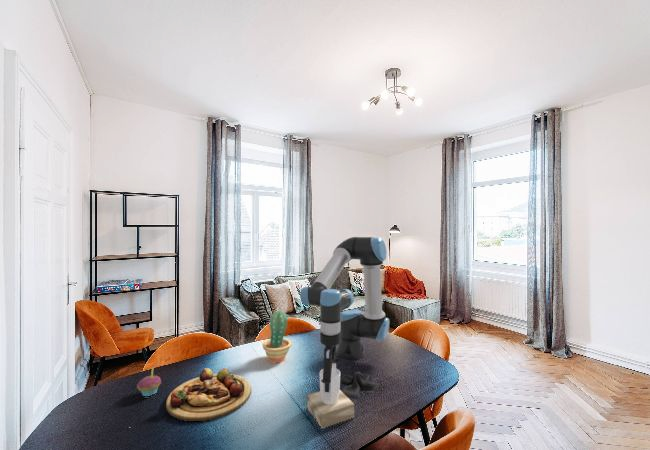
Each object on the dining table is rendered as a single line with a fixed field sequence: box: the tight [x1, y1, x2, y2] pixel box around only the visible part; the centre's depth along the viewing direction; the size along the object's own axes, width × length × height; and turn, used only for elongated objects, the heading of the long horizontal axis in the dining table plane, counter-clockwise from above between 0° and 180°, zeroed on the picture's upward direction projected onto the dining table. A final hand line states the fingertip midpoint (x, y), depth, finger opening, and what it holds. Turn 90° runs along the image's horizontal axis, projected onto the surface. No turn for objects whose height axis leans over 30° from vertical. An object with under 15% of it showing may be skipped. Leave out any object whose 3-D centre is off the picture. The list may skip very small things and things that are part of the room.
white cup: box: [318, 367, 341, 405], centre depth 107 cm, size 8×8×10 cm
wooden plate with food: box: [165, 367, 252, 422], centre depth 117 cm, size 32×32×8 cm
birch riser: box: [306, 389, 355, 430], centre depth 107 cm, size 13×13×5 cm
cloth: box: [340, 371, 380, 399], centre depth 127 cm, size 22×19×6 cm
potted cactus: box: [262, 309, 292, 364], centre depth 152 cm, size 16×15×25 cm
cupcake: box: [136, 367, 162, 397], centre depth 119 cm, size 9×8×12 cm
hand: (330, 389), depth 107 cm, fingers open, 13 cm apart
